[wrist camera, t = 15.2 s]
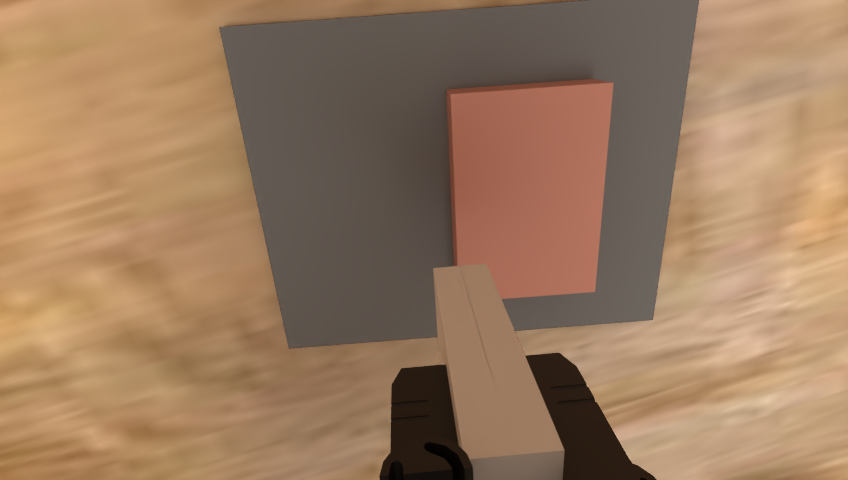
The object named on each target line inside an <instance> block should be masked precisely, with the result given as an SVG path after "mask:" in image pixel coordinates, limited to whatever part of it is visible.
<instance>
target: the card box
mask: <svg viewBox="0 0 848 480" xmlns="http://www.w3.org/2000/svg"><path fill="white" fill-rule="evenodd" d="M612 94H613V82H608V81H602V80H597V79H584V80H570V81H556V82H542V83H528V84H514V85H500V86H486V87H472V88H458V89H446V97H447V120H448V142H449V164H450V187H451V209H452V232H453V254H454V266H464V265H476V264H487V266H488V268H489V271H490V273H491V275H492V278H493V280H494V283H495V285H496V287H497V290H498V292H499V295H500V297H501V299H508V298H521V297H534V296H547V295H561V294H574V293H587V292H595V287H596V276H597V264H598V253H599V242H600V230H601V219H602V208H603V196H604V185H605V174H606V162H607V151H608V140H609V128H610V117H611V106H612Z"/></svg>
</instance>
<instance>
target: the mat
mask: <svg viewBox="0 0 848 480" xmlns="http://www.w3.org/2000/svg"><path fill="white" fill-rule="evenodd" d="M698 4H699V0H585V1H571V2H557V3H543V4H530V5H516V6H502V7H488V8H475V9H461V10H447V11H433V12H420V13H406V14H392V15H378V16H365V17H351V18H337V19H323V20H310V21H296V22H282V23H268V24H255V25H241V26H227V27H219V28H220V33H221V37H222V42H223V47H224V51H225V56H226V60H227V65H228V70H229V74H230V79H231V84H232V88H233V93H234V97H235V102H236V107H237V111H238V116H239V120H240V125H241V130H242V134H243V139H244V143H245V148H246V153H247V157H248V162H249V167H250V171H251V176H252V180H253V185H254V190H255V194H256V199H257V203H258V208H259V213H260V217H261V222H262V227H263V231H264V236H265V240H266V245H267V250H268V254H269V259H270V263H271V268H272V273H273V277H274V282H275V287H276V291H277V296H278V300H279V305H280V310H281V314H282V319H283V323H284V328H285V333H286V337H287V342H288V347H289V349H290V348H302V347H315V346H328V345H341V344H353V343H366V342H379V341H391V340H404V339H417V338H430V337H438V334H437V319H436V304H435V289H434V275H433V268H441V267H452V266H454V254H453V232H452V209H451V187H450V164H449V142H448V120H447V97H446V89H458V88H472V87H486V86H500V85H514V84H528V83H542V82H556V81H570V80H584V79H597V80H602V81H608V82H613V94H612V106H611V117H610V128H609V140H608V151H607V162H606V174H605V185H604V196H603V208H602V219H601V230H600V242H599V253H598V264H597V276H596V287H595V292H587V293H574V294H561V295H547V296H534V297H521V298H508V299H502V302H503V304H504V307H505V309H506V311H507V314H508V316H509V319H510V321H511V323H512V326H513V328H514V330H515V331H519V330H532V329H544V328H557V327H570V326H583V325H595V324H608V323H621V322H634V321H646V320H653V316H654V309H655V302H656V295H657V288H658V281H659V274H660V267H661V260H662V253H663V247H664V240H665V233H666V226H667V219H668V212H669V205H670V198H671V191H672V184H673V177H674V170H675V163H676V156H677V149H678V143H679V136H680V129H681V122H682V115H683V108H684V101H685V94H686V87H687V80H688V73H689V66H690V59H691V52H692V45H693V39H694V32H695V25H696V18H697V11H698Z"/></svg>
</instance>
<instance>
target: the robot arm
mask: <svg viewBox="0 0 848 480" xmlns="http://www.w3.org/2000/svg"><path fill="white" fill-rule="evenodd" d="M433 275H434V289H435V304H436V319H437V334H438V349H439V357H440V364H441V365H434V366H423V367H411V368H401V370H400V372H399V373H398V375H397V377H396V378H395V380H394V382H393V384H392V402H391V403H392V407H391V453H390V454H389V455H388V456H387V458H386V459H385V460H384V462H383V465H382V469H381V473H380V476H379V477H380V480H656V479H655V477H654V476H653V475H651V474H650V473H648V472H647V471H645V470H644V469H642V468H641V467H639V466H638V465H635V464H632V462H631V461H630V460H629V458H628V456H627V455H626V453H625V451H624V449H623V448H622V446H621V444H620V442H619V441H618V439H617V437H616V435H615V434H614V432H613V430H612V428H611V426H610V425H609V423H608V421H607V419H606V418H605V416H604V414H603V412H602V411H601V409H600V407H599V405H598V404H597V402H595V399H594V396H593V395H592V393H591V391H590V389H589V388H588V387H587V386H586V382H585V381H584V379H583V377H582V375H581V374H580V372H579V370H578V368H577V367H576V366H575V365H574V364H573V363H571V362H570V361H569V360H568V359H566V358H565V357H564V356H562V355H561V354H560V353H551V354H540V355H529V356H525V354H524V352H523V350H522V347H521V345H520V342H519V340H518V338H517V335H516V333H515V330H514V328H513V326H512V323H511V321H510V319H509V316H508V314H507V311H506V309H505V307H504V304H503V302H502V299H501V297H500V295H499V292H498V290H497V287H496V285H495V283H494V280H493V278H492V275H491V273H490V271H489V268H488V266H487V264H476V265H464V266H452V267H441V268H433Z"/></svg>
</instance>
